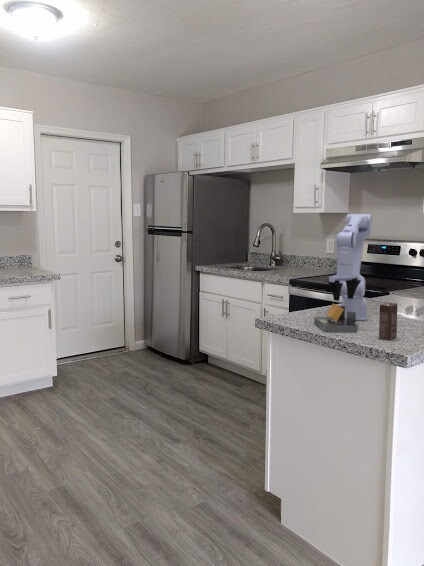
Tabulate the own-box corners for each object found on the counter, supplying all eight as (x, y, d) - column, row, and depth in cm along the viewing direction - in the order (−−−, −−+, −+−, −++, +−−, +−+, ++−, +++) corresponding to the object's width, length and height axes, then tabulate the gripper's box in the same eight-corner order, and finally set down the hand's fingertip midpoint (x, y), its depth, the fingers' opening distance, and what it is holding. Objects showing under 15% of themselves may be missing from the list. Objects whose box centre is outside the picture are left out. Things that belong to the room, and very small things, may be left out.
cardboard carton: (331, 320, 187) (339, 306, 186) (335, 324, 181) (344, 309, 180) (324, 317, 186) (332, 303, 186) (328, 320, 181) (337, 305, 180)
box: (384, 335, 173) (385, 302, 171) (396, 337, 170) (398, 303, 168) (377, 338, 168) (379, 304, 167) (390, 340, 165) (392, 305, 164)
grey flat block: (344, 323, 192) (344, 316, 192) (357, 332, 177) (357, 325, 177) (314, 323, 191) (314, 316, 191) (325, 332, 176) (325, 325, 176)
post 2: (353, 323, 180) (354, 311, 179) (356, 325, 177) (357, 313, 176) (345, 323, 179) (346, 311, 179) (348, 325, 177) (348, 313, 176)
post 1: (343, 316, 192) (343, 305, 191) (345, 318, 189) (346, 307, 188) (335, 316, 191) (336, 305, 191) (338, 318, 188) (338, 307, 188)
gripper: (349, 262, 191) (348, 296, 192) (323, 264, 183) (322, 299, 185) (364, 263, 185) (362, 299, 187) (337, 265, 177) (336, 302, 179)
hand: (343, 299), depth 185 cm, fingers open, 7 cm apart
